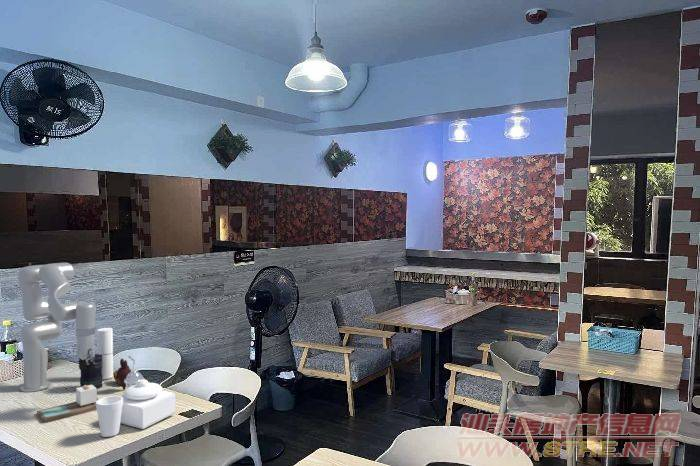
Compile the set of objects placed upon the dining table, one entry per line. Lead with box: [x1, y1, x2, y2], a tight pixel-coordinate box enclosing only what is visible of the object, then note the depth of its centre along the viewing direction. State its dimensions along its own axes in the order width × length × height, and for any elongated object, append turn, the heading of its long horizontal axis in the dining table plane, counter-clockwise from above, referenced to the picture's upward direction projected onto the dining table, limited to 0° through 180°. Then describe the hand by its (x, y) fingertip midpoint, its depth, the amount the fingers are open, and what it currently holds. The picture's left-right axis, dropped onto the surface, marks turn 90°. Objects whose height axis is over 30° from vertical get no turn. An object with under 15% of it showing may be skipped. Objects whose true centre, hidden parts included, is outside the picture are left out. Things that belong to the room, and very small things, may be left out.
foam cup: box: [95, 395, 123, 438], centre depth 188 cm, size 10×9×13 cm
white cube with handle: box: [75, 385, 98, 406], centre depth 213 cm, size 6×6×7 cm
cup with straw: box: [124, 355, 145, 389], centre depth 219 cm, size 8×9×20 cm
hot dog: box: [113, 369, 122, 386], centre depth 244 cm, size 5×13×5 cm, turn 42°
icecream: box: [116, 358, 132, 391], centre depth 233 cm, size 7×7×15 cm
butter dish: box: [120, 378, 176, 430], centre depth 204 cm, size 18×18×16 cm
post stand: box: [36, 398, 99, 424], centre depth 209 cm, size 12×23×8 cm, turn 135°
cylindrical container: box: [96, 327, 114, 380], centre depth 252 cm, size 7×7×25 cm
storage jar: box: [79, 353, 104, 390], centre depth 237 cm, size 10×10×15 cm
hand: (86, 370), depth 212 cm, fingers open, 9 cm apart
